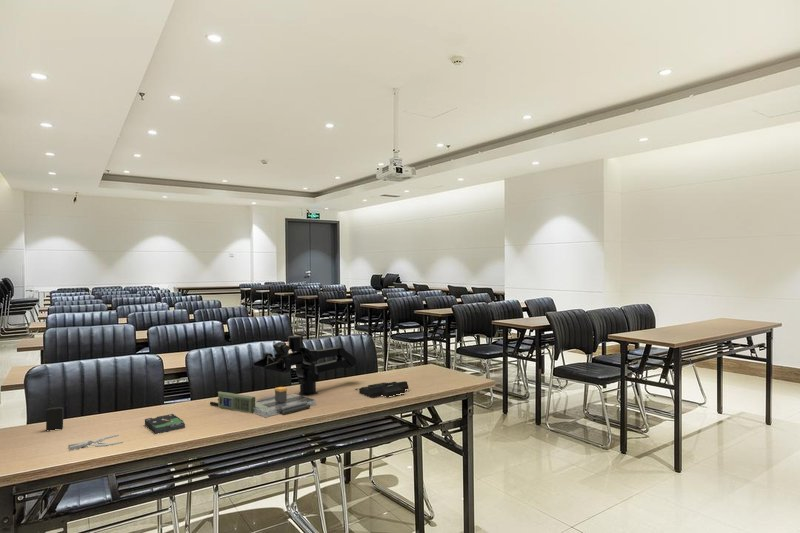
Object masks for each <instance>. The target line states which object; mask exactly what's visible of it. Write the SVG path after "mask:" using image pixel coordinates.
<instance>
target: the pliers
mask: <svg viewBox="0 0 800 533" xmlns="http://www.w3.org/2000/svg"><path fill="white" fill-rule="evenodd" d="M119 436H120V435H119V434H114V435H108V436H104V437H101V438H97V439H95V440H94V439H93V440H91V439H90V440H85V441H83V442H74V443H69V444H68V446H67V448H69V449H68V451H69V450H72V451H75V450H74V449H76V450H79V449H78V448H81V449H82V448H89V447H88V446H95V447H96V448H98V447H99V448H100V447H109V445H110V446H115V445H119V444H123V442H125V441H124V440H122V441H117V442H110V443H109V442H103V441H105V440H107V439H111V438H115V437H119ZM99 442H100V443H99ZM92 443H94V444H92ZM89 444H90V445H89ZM95 447H94V448H95Z"/></svg>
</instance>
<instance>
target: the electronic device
mask: <svg viewBox="0 0 800 533" xmlns="http://www.w3.org/2000/svg"><path fill="white" fill-rule="evenodd" d="M355 389H356V390H358V393H359V394H361V395H363V394H364V396H366V395H367V396H366V397H368V396H370V397H369V398H371V397H376V398H378V397H377V396H381V395H383V396H386V397H389V396H393V395H396V394H400V393H405V394H406V392H405V389H410V388H409V385H408V381H405V380H403V381H398V382H397V381H391V382H380V383H374V384H368V385H367V386H362V387H360V388H355ZM356 390H355V391H356ZM383 396H381V397H383ZM386 397H385V398H386Z"/></svg>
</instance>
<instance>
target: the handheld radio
mask: <svg viewBox="0 0 800 533" xmlns="http://www.w3.org/2000/svg"><path fill="white" fill-rule="evenodd" d="M217 393H218V394H217V401H218V402H216V401H215V402H214V401H210V402H209V405H210V406H215V407H216V406H217V407H219V408H220V409H225V410H231V411H236V412H243V413H248V414H254V413H253V407H255V403H256V396H254V395H253V396H251V395H246V394H239V393H232V392H226V391H225V392H224V391H217Z"/></svg>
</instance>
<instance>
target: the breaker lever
mask: <svg viewBox="0 0 800 533" xmlns="http://www.w3.org/2000/svg"><path fill="white" fill-rule="evenodd" d="M287 389H288V388H287V387H285V386H278V387H275V388H274V396H275V401H277V402H280V403H282V402H286V401H287V395H288V394H287Z"/></svg>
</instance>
